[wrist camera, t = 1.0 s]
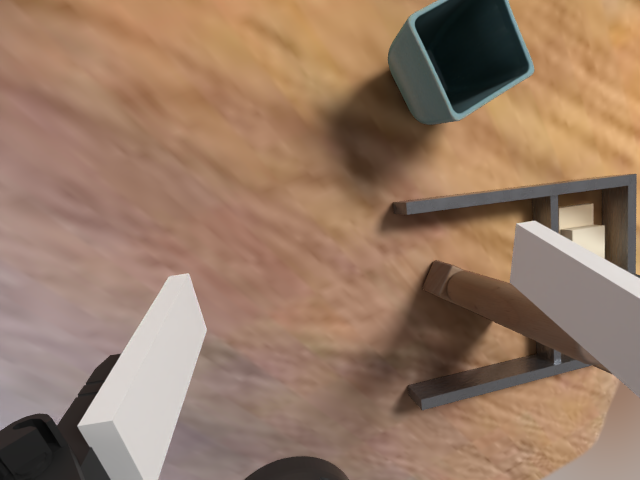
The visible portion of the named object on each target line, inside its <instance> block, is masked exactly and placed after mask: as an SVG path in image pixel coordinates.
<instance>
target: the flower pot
mask: <svg viewBox="0 0 640 480" xmlns="http://www.w3.org/2000/svg"><path fill="white" fill-rule="evenodd" d="M388 64H389V68H390V71H391V74H392V76H393V78H394V80H395V82H396V84H397V86H398V88H399V90H400V92H401V94H402V96H403V98H404V100H405V102H406V104H407V106H408V109H409V111H410V112H411V114H412V115H413V116H414V118H415V119H416V120H418V121H419V122H421V123H423V124H427V125H432V124H440V123H447V122H453V121H459V120H461V119H463V118H465V117H466V116H467V115H469V114H471V113H472V112H474V111H475V110H477V109H478V108H480V107H482V106H483V105H485V104H486V103H488V102H489V101H491V100H492V99H494V98H496V97H497V96H499V95H501V94H502V93H504V92H505V91H507V90H508V89H510V88H512V87H513V86H515V85H517V84H518V83H520V82H521V81H523V80H525V79H526V78H528V77H530V76H531V75H532V74H533V73H534V66H533V62H532V59H531V56H530V54H529V52H528V49H527V47H526V45H525V42H524V40H523V37H522V35H521V33H520V30H519V28H518V25H517V23H516V20H515V18H514V15H513V12H512V10H511V7H510V4H509V1H508V0H437V1H436V2H434V3H432V4H430V5H428V6H426V7H424V8H423V9H421V10H419V11H417V12H415V13H413V14H412V15H411V16H410V17H409V18H408V19H407V21H406V22H405V24H404V25H403V27H402V28H401V30H400V31H399V33H398V34H397V36H396V38H395V39H394V41H393V42H392V44H391V46H390V49H389V53H388Z"/></svg>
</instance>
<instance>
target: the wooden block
mask: <svg viewBox="0 0 640 480" xmlns="http://www.w3.org/2000/svg"><path fill="white" fill-rule="evenodd" d="M423 289H424V290H425V291H427V292H429V293H431V294H433V295H435V296H437V297H440V298H442V299H444V300H447V301H449V302H451V303H454V304H456V305H459V306H461V307H463V308H466V309H468V310H470V311H472V312H475V313H477V314H479V315H481V316H483V317H485V318H487V319H490V320H492V321H494V322H495V323H498V324H500V325H502V326H504V327H507V328H509V329H511V330H513V331H515V332H518V333H520V334H522V335H524V336H526V337H528V338H530V339H533V340H535V341H537V342H539V343H541V344H543V345H546V346H548V347H550V348H552V349H554V350H556V351H558V352H561V353H563V354H565V355H567V356H569V357H571V358H573V359H576V360H578V361H580V362H582V363H584V364H589V365H593V366H595V367H597V368H599V369H602V370H604V371H606V372H608V373H611V372H610V371H609V370H608V369H607V368H606V367H604V366H603V365H602V364H601V363H600V362H599V361H598V360H597V359H595V358H594V357H593V356H592V355H591V354H590V353H589V352H588V351H586V350H585V349H584V348H583V347H582V346H581V345H580V344H579V343H577V342H576V341H575V340H574V339H573V338H572V337H571V336H570V335H568V334H567V333H566V332H565V331H564V330H563V329H562V328H561V327H559V326H558V325H557V324H556V323H555V322H554V321H553V320H552V319H550V318H549V317H548V316H547V315H546V314H545V313H544V312H543V311H541V310H540V309H539V308H538V307H537V306H536V305H535V304H534V303H532V302H531V301H530V300H529V299H528V298H527V297H526V296H525V295H523V294H522V293H521V292H520V291H519V290H518V289H517V288H516V287H514V286H513V285H512V284H510V283H507V282H504V281H500V280H497V279H494V278H490V277H487V276H483V275H480V274H477V273H473V272H470V271H466V270H463V269H461V268H458V267H456V266H454V265H451V264H448V263H444V262H441V261H437V260H435V261H434V262H433V264H432V266H431V269H430V271H429V273H428V276H427V278H426V280H425V283H424V285H423ZM611 374H612V373H611Z"/></svg>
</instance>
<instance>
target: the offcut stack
mask: <svg viewBox="0 0 640 480" xmlns="http://www.w3.org/2000/svg"><path fill="white" fill-rule="evenodd" d="M558 225H559V234H560V235H562V236H564V237H566V238H567V239H569V240H571V241H573V242H575V243H576V244H578V245H580V246H582V247H584V248H586V249H587V250H589V251H591V252H593V253H595V254H596V255H598V256H600V257H602V258H604V259H605V225H593V204H578V205H571V206H563V207H558Z"/></svg>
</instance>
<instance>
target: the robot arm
mask: <svg viewBox="0 0 640 480" xmlns="http://www.w3.org/2000/svg"><path fill="white" fill-rule="evenodd" d="M510 283H511V284H512V285H513V286H514V287H516V288H517V289H518V290H519V291H520V292H521V293H522V294H523V295H525V296H526V297H527V298H528V299H529V300H530V301H531V302H532V303H534V304H535V305H536V306H537V307H538V308H539V309H540V310H541V311H543V312H544V313H545V314H546V315H547V316H548V317H549V318H550V319H552V320H553V321H554V322H555V323H556V324H557V325H558V326H559V327H561V328H562V329H563V330H564V331H565V332H566V333H567V334H568V335H570V336H571V337H572V338H573V339H574V340H575V341H576V342H577V343H579V344H580V345H581V346H582V347H583V348H584V349H585V350H586V351H588V352H589V353H590V354H591V355H592V356H593V357H594V358H595V359H597V360H598V361H599V362H600V363H601V364H602V365H603V366H604V367H606V368H607V369H608V370H609V371H610V372H611V373H612V374H613V375H615V376H616V377H617V378H618V379H619V380H620V381H621V382H622V383H624V384H625V385H626V386H627V387H628V388H629V389H630V390H631V391H633V392H634V393H635V394H636V395H637V396H638V397H639V398H640V275H637V274H634V273H629V272H627V271H625V270H624V269H622V268H620V267H618V266H616V265H615V264H613V263H611V262H609V261H607V260H606V259H604V258H602V257H600V256H598V255H596V254H595V253H593V252H591V251H589V250H587V249H586V248H584V247H582V246H580V245H578V244H576V243H575V242H573V241H571V240H569V239H567V238H566V237H564V236H562V235H560V234H558V233H556V232H555V231H553V230H551V229H549V228H547V227H546V226H544V225H542V224H540V223H538V222H536V221H529V222H522V223H516V230H515V239H514V248H513V258H512V267H511V276H510ZM206 331H207V328H206V325H205V322H204V319H203V316H202V313H201V310H200V307H199V303H198V300H197V297H196V294H195V291H194V288H193V285H192V282H191V278H190V275H189V273H188V274H181V275H175V276H169V278H168V279H167V281H166V282H165V284H164V286H163V287H162V289H161V291H160V292H159V294H158V295H157V297H156V299H155V300H154V302H153V304H152V305H151V307H150V308H149V310H148V312H147V313H146V315H145V317H144V318H143V320H142V321H141V323H140V325H139V326H138V328H137V330H136V331H135V333H134V335H133V336H132V338H131V339H130V341H129V343H128V344H127V346H126V348H125V349H124V351H123V352H122V354H117V355H110V356H109V357H108V358H107V359H106V360H105V361H104V362H102V363H101V364H100V365H99V366H98V367H97V368H96V369H95V370H94V372H93V373H92V375H91V376H90V378H89V379H88V381H87V382H86V385H85V386H83V388H82V389H81V391H80V392H79V394H78V397H77V398H75V400H74V401H73V403H72V404H71V406H70V407H69V409H68V410H67V412H66V413H65V415H64V416H63V418H62V419H61V421H60V422H59V424H58V425H57V426H56V424H55V422H54V421H53V419H52V418H51V417H50V416H49V415H48V414H35V415H30V416H26V417H24V418H22V419H20V420H18V421H15V422H13V423H11V424H10V425H8V426H7V427H5V428H4V429H2V430H1V431H0V480H158V478H159V475H160V472H161V469H162V466H163V463H164V460H165V457H166V454H167V451H168V448H169V445H170V441H171V438H172V435H173V432H174V429H175V426H176V423H177V420H178V417H179V414H180V411H181V408H182V405H183V402H184V399H185V396H186V392H187V389H188V386H189V383H190V380H191V377H192V374H193V371H194V368H195V365H196V362H197V359H198V356H199V353H200V350H201V347H202V343H203V340H204V337H205V334H206ZM246 480H349V479H348V477H347V476H346V475H345V474H344V473H343V472H342V471H341V470H340V469H339V468H338V467H336V466H335V465H333V464H331V463H329V462H327V461H325V460H322V459H319V458H314V457H291V458H286V459H282V460H278V461H275V462H273V463H270V464H268V465H266V466H264V467H262V468H261V469H259V470H257V471H256V472H255V473H253V474H252V475H250V476H249V477H248V478H247V479H246Z"/></svg>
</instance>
